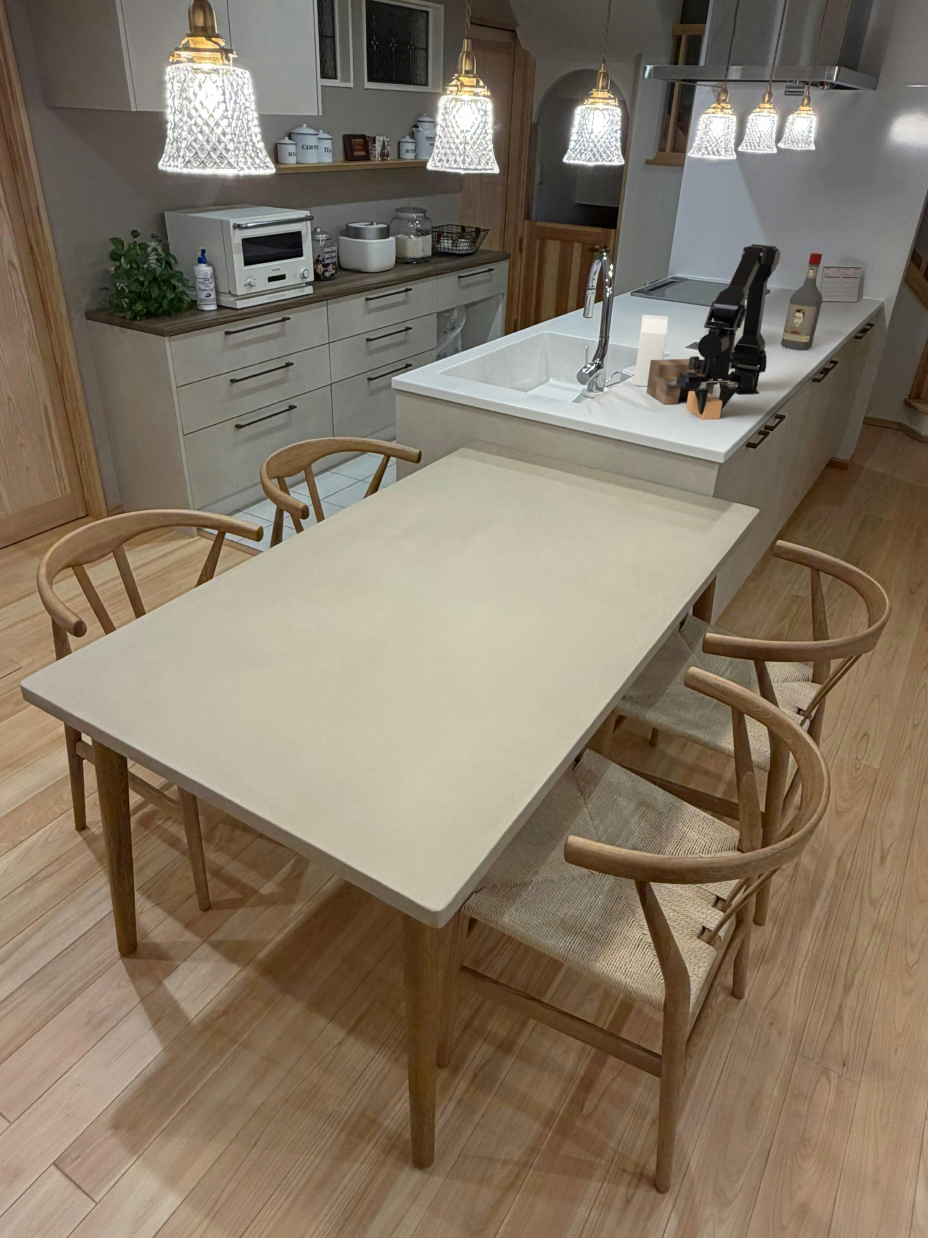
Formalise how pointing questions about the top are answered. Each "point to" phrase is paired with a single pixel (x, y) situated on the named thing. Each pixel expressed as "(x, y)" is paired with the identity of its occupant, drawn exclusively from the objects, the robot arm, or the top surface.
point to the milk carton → (650, 345)
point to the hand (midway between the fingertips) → (709, 413)
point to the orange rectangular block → (710, 409)
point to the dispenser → (669, 380)
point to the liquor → (803, 310)
